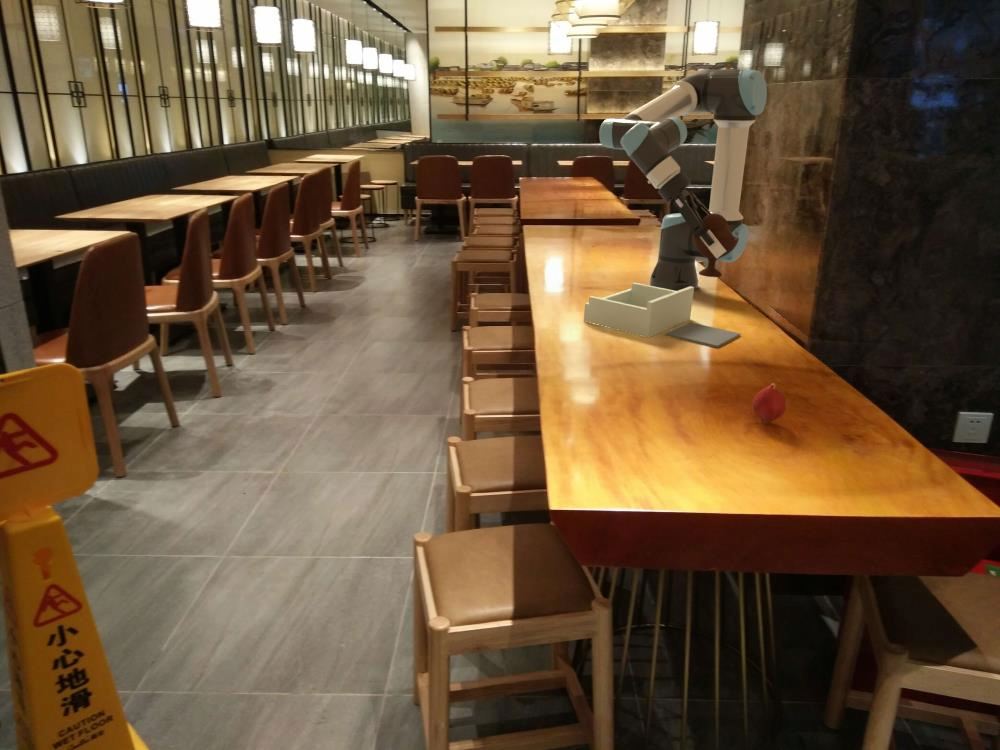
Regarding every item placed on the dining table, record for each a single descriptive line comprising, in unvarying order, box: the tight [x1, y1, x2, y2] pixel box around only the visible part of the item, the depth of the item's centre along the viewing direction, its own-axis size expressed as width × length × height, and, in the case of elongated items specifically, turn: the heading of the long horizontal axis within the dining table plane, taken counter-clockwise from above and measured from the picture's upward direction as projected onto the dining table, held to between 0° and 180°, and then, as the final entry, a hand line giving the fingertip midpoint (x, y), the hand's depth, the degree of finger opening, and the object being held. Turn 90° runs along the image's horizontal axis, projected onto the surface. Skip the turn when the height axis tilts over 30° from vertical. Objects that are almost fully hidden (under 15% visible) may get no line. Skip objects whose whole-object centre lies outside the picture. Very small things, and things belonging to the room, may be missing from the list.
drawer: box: [583, 282, 695, 338], centre depth 199 cm, size 23×19×9 cm
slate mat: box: [664, 322, 741, 349], centre depth 189 cm, size 14×14×1 cm
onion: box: [752, 383, 787, 424], centre depth 137 cm, size 6×6×8 cm
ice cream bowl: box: [692, 214, 739, 278], centre depth 181 cm, size 11×11×15 cm
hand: (725, 250), depth 180 cm, fingers closed on ice cream bowl, 11 cm apart
